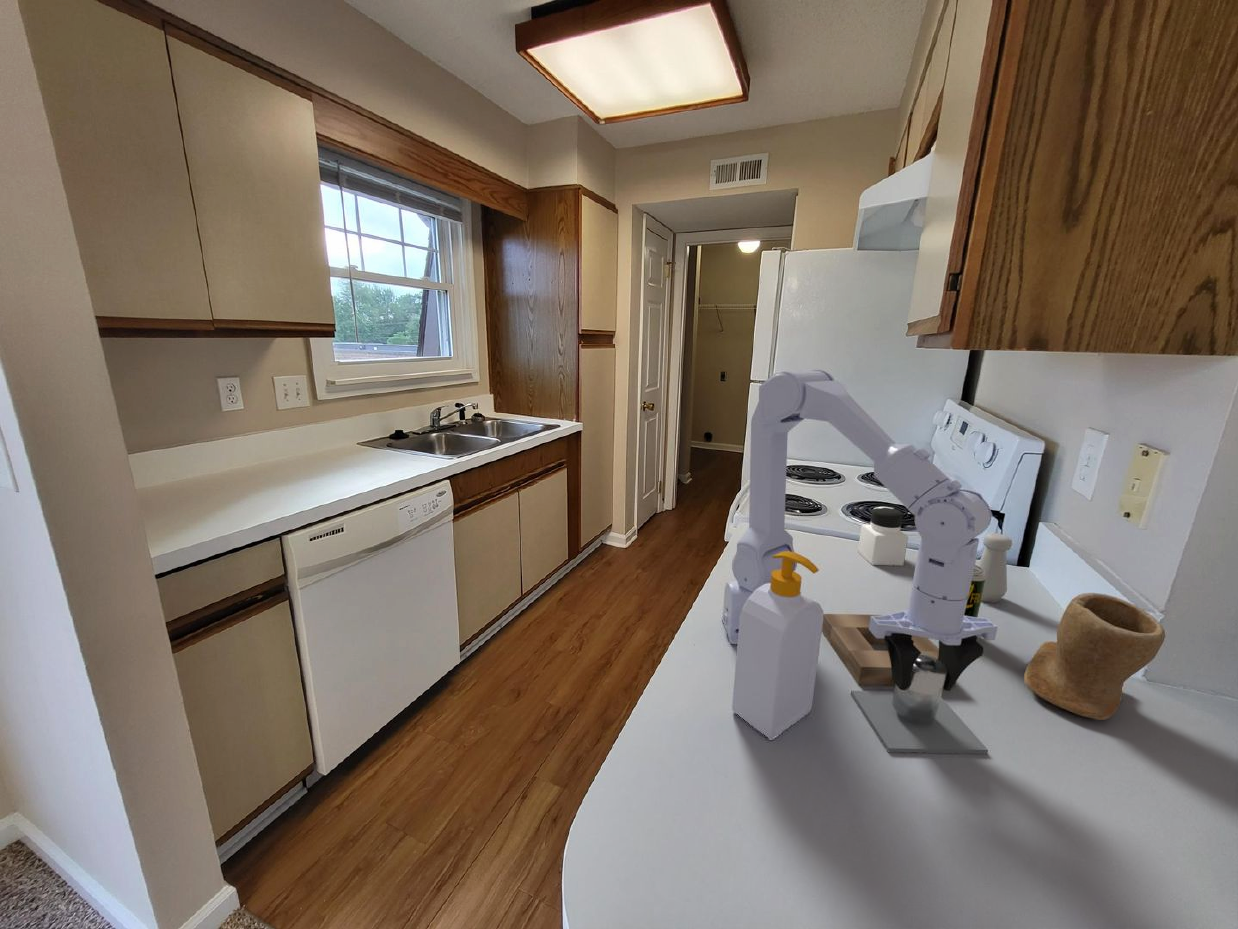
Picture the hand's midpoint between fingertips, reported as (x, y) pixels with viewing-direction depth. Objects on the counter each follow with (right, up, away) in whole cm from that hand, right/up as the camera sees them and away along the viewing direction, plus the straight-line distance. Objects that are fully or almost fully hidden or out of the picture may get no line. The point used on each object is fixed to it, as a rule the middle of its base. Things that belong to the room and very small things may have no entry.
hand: (920, 685), depth 63 cm
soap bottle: (-18, -5, +2) cm, 19 cm away
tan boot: (+27, -5, +7) cm, 28 cm away
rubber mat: (0, -5, +1) cm, 6 cm away
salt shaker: (+33, +2, +33) cm, 47 cm away
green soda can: (+19, -1, +22) cm, 29 cm away
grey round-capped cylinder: (0, -4, +2) cm, 4 cm away
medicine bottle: (+21, +6, +50) cm, 55 cm away
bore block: (+3, -2, +15) cm, 15 cm away
